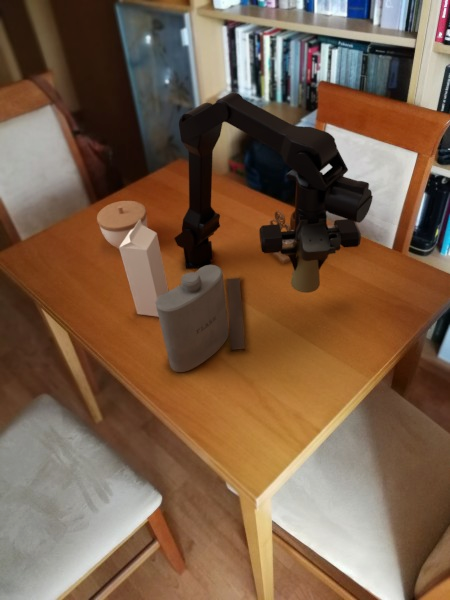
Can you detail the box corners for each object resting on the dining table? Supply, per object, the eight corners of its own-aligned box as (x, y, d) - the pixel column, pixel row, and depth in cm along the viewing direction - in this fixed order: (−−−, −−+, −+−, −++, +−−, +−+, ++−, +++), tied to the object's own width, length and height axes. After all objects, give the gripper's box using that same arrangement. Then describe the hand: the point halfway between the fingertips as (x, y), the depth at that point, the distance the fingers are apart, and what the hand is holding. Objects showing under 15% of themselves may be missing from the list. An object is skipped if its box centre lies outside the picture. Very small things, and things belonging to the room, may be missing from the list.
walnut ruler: (230, 351, 97) (230, 349, 97) (227, 281, 113) (226, 278, 113) (245, 350, 97) (245, 348, 97) (239, 280, 113) (239, 277, 113)
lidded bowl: (160, 243, 126) (153, 208, 119) (117, 262, 122) (106, 227, 114) (139, 223, 134) (130, 188, 127) (97, 240, 130) (86, 205, 122)
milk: (137, 314, 107) (114, 234, 92) (146, 296, 112) (126, 217, 97) (162, 317, 106) (143, 237, 91) (171, 299, 110) (154, 219, 95)
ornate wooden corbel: (263, 245, 123) (262, 205, 114) (276, 240, 124) (276, 200, 116) (283, 263, 117) (284, 222, 108) (296, 258, 118) (298, 217, 110)
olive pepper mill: (322, 276, 101) (327, 234, 94) (316, 295, 97) (321, 252, 90) (294, 271, 103) (297, 229, 95) (287, 289, 99) (290, 247, 91)
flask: (184, 379, 93) (168, 306, 79) (165, 364, 96) (146, 291, 83) (236, 336, 100) (230, 262, 87) (217, 323, 104) (208, 250, 90)
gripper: (264, 233, 81) (264, 299, 92) (373, 225, 81) (361, 292, 91) (258, 198, 89) (259, 263, 100) (358, 191, 89) (348, 256, 99)
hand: (306, 269), depth 97 cm, fingers closed on olive pepper mill, 4 cm apart
